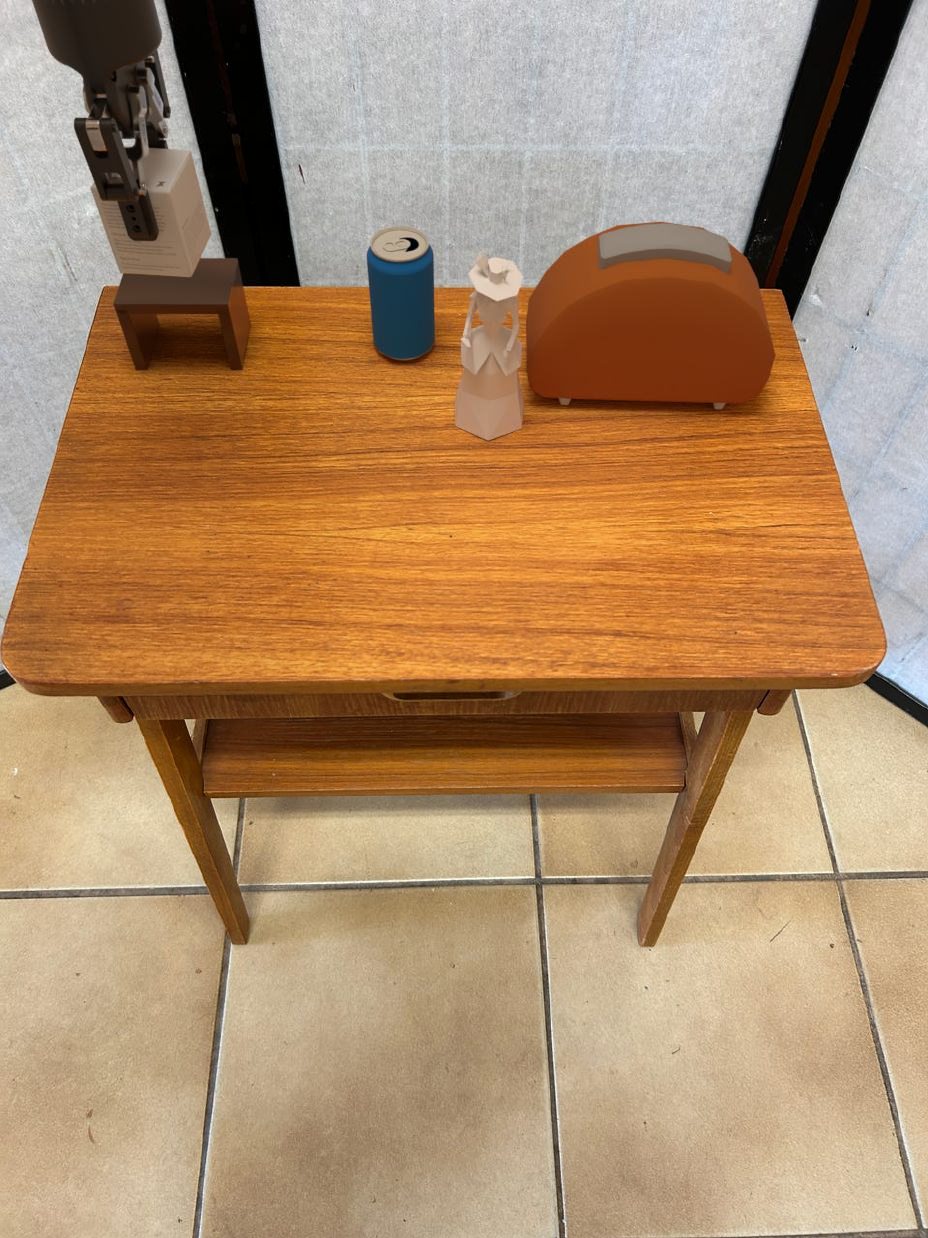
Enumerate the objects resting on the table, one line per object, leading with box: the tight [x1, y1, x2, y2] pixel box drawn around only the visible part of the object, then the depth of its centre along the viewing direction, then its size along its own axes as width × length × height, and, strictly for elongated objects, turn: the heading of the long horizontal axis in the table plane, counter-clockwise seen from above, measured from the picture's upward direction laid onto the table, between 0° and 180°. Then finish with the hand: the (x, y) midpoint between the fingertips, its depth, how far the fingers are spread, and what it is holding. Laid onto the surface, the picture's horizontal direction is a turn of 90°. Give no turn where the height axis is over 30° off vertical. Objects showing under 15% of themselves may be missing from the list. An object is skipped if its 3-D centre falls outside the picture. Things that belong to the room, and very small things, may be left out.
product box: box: [89, 145, 212, 277], centre depth 74 cm, size 6×6×7 cm
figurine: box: [454, 251, 525, 442], centre depth 87 cm, size 7×8×18 cm
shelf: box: [112, 257, 252, 371], centre depth 97 cm, size 8×11×8 cm
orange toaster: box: [525, 221, 776, 410], centre depth 91 cm, size 23×9×17 cm, turn 88°
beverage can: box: [366, 225, 436, 361], centre depth 96 cm, size 6×6×12 cm
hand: (154, 211), depth 74 cm, fingers closed on product box, 6 cm apart
